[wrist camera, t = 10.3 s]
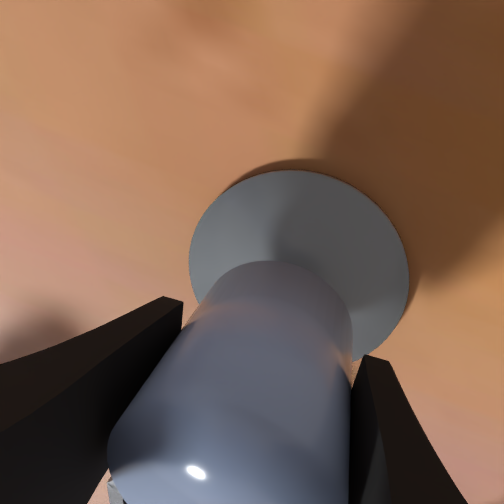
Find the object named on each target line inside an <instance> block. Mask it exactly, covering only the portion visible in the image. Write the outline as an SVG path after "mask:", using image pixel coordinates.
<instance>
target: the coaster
mask: <svg viewBox="0 0 504 504" xmlns="http://www.w3.org/2000/svg"><path fill="white" fill-rule="evenodd" d="M255 261H281V262H286V263H290V264H294V265H296V266H299V267H302V268H304V269H306V270H308V271H310V272H312V273H314V274H316V275H317V276H319V277H320V278H322V279H323V280H324V281H325V282H327V283H328V284H329V285H330V286H331V287H332V288H333V289H334V290H335V291H336V292H337V293H338V295H339V296H340V298H341V299H342V300H343V302H344V304H345V306H346V308H347V310H348V312H349V315H350V318H351V322H352V327H353V349H352V362H354V361H356V360H358V359H360V358H362V357H363V356H364V354H366V355H367V354H369V353H370V352H372V351H373V350H374V349H376V348H377V347H378V346H379V345H380V344H382V343H383V342H384V341H385V340H386V339H387V338H388V336H389V335H390V334H391V332H392V331H393V330H394V328H395V327H396V325H397V324H398V322H399V320H400V318H401V316H402V314H403V311H404V308H405V305H406V302H407V297H408V291H409V270H408V263H407V257H406V254H405V250H404V247H403V244H402V241H401V239H400V237H399V235H398V232H397V230H396V228H395V227H394V225H393V224H392V222H391V221H390V219H389V218H388V216H387V215H386V214H385V213H384V212H383V210H382V209H381V208H380V207H379V206H378V205H377V204H376V203H375V202H374V201H373V200H372V199H370V198H369V197H368V196H367V195H366V194H365V193H363V192H361V191H360V190H358V189H357V188H355V187H354V186H352V185H350V184H348V183H346V182H344V181H342V180H340V179H338V178H335V177H332V176H329V175H326V174H323V173H319V172H313V171H308V170H295V169H286V170H274V171H270V172H265V173H261V174H258V175H255V176H252V177H249V178H247V179H245V180H243V181H241V182H239V183H237V184H235V185H234V186H232V187H231V188H230V189H228V190H227V191H226V192H224V193H223V194H222V195H220V196H219V197H218V198H217V199H216V200H215V201H214V202H213V203H212V204H211V205H210V206H209V208H208V209H207V210H206V212H205V213H204V214H203V216H202V217H201V219H200V221H199V223H198V225H197V227H196V229H195V232H194V235H193V237H192V241H191V246H190V251H189V272H190V279H191V284H192V288H193V291H194V294H195V297H196V299H197V301H198V303H199V304H200V303H201V301H202V300H203V299H204V297H205V296H206V294H207V293H208V291H209V290H210V289H211V287H212V286H213V284H214V283H215V282H216V281H217V280H218V279H219V278H220V277H221V276H222V275H223V274H225V273H226V272H228V271H229V270H231V269H233V268H235V267H237V266H239V265H242V264H246V263H249V262H255Z"/></svg>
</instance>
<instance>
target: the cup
mask: <svg viewBox="0 0 504 504" xmlns="http://www.w3.org/2000/svg"><path fill="white" fill-rule="evenodd" d="M352 349H353V327H352V322H351V318H350V315H349V312H348V310H347V308H346V306H345V304H344V302H343V300H342V299H341V298H340V296H339V295H338V293H337V292H336V291H335V290H334V289H333V288H332V287H331V286H330V285H329V284H328V283H327V282H325V281H324V280H323V279H322V278H320V277H319V276H317V275H316V274H314V273H312V272H310V271H308V270H306V269H304V268H302V267H299V266H296V265H294V264H290V263H286V262H281V261H255V262H249V263H246V264H242V265H239V266H237V267H235V268H233V269H231V270H229V271H228V272H226V273H225V274H223V275H222V276H221V277H220V278H219V279H218V280H217V281H216V282H215V283H214V284H213V286H212V287H211V289H210V290H209V291H208V293H207V294H206V296H205V297H204V299H203V300H202V301H201V303H200V304H199V306H198V307H197V309H196V310H195V311H194V313H193V314H192V316H191V317H190V319H189V320H188V321H187V323H186V324H185V326H184V327H183V329H182V330H181V331H180V333H179V334H178V336H177V337H176V339H175V340H174V341H173V343H172V344H171V346H170V347H169V349H168V350H167V351H166V353H165V354H164V356H163V357H162V359H161V360H160V361H159V363H158V364H157V366H156V367H155V369H154V370H153V371H152V373H151V374H150V376H149V377H148V379H147V380H146V381H145V383H144V384H143V386H142V387H141V389H140V390H139V391H138V393H137V394H136V396H135V397H134V399H133V400H132V401H131V403H130V404H129V406H128V407H127V409H126V410H125V411H124V413H123V414H122V416H121V417H120V419H119V420H118V421H117V423H116V425H115V426H114V428H113V430H112V431H111V434H110V437H109V440H108V445H107V462H108V466H109V471H110V474H111V476H112V479H113V482H114V484H115V485H116V487H117V489H118V491H119V493H120V494H121V496H122V497H123V499H124V500H125V502H126V503H127V504H348V493H349V457H350V421H351V385H352Z"/></svg>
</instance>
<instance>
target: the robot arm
mask: <svg viewBox="0 0 504 504" xmlns="http://www.w3.org/2000/svg"><path fill="white" fill-rule="evenodd" d="M182 314H183V302H182V301H179V300H175V299H172V298H168V297H165V296H162V297H160V298H158V299H156V300H153V301H151V302H149V303H147V304H145V305H143V306H141V307H139V308H137V309H135V310H133V311H131V312H129V313H127V314H125V315H123V316H121V317H119V318H117V319H115V320H112V321H110V322H108V323H106V324H104V325H102V326H100V327H98V328H95V329H93V330H91V331H88V332H86V333H84V334H81V335H79V336H77V337H74V338H72V339H70V340H67V341H65V342H63V343H60V344H58V345H55V346H53V347H50V348H47V349H45V350H42V351H39V352H37V353H34V354H31V355H28V356H25V357H22V358H19V359H16V360H13V361H10V362H6V363H3V364H0V504H87V503H88V501H89V500H90V498H91V496H92V494H93V493H94V491H95V489H96V487H97V486H98V484H99V482H100V481H101V479H102V477H103V476H104V474H105V473H106V471H107V470H108V468H109V466H108V462H107V445H108V440H109V437H110V434H111V431H112V430H113V428H114V426H115V425H116V423H117V421H118V420H119V419H120V417H121V416H122V414H123V413H124V411H125V410H126V409H127V407H128V406H129V404H130V403H131V401H132V400H133V399H134V397H135V396H136V394H137V393H138V391H139V390H140V389H141V387H142V386H143V384H144V383H145V381H146V380H147V379H148V377H149V376H150V374H151V373H152V371H153V370H154V369H155V367H156V366H157V364H158V363H159V361H160V360H161V359H162V357H163V356H164V354H165V353H166V351H167V350H168V349H169V347H170V346H171V344H172V343H173V341H174V340H175V339H176V337H177V336H178V334H179V333H180V331H181V326H182ZM348 504H468V503H467V502H466V500H465V499H464V497H463V496H462V494H461V493H460V491H459V490H458V488H457V487H456V485H455V483H454V482H453V480H452V479H451V477H450V475H449V474H448V472H447V470H446V469H445V467H444V466H443V464H442V462H441V461H440V459H439V457H438V456H437V454H436V452H435V450H434V449H433V447H432V445H431V443H430V442H429V440H428V438H427V436H426V434H425V432H424V431H423V429H422V427H421V425H420V423H419V421H418V419H417V418H416V416H415V414H414V412H413V410H412V408H411V406H410V404H409V402H408V400H407V398H406V396H405V394H404V392H403V389H402V387H401V385H400V383H399V381H398V379H397V377H396V374H395V372H394V370H393V368H392V366H391V364H390V362H389V361H386V360H383V359H379V358H376V357H372V356H369V355H366V354H364V356H363V358H362V361H361V364H360V367H359V370H358V373H357V375H356V378H355V381H354V384H353V387H352V390H351V421H350V457H349V493H348Z"/></svg>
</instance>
